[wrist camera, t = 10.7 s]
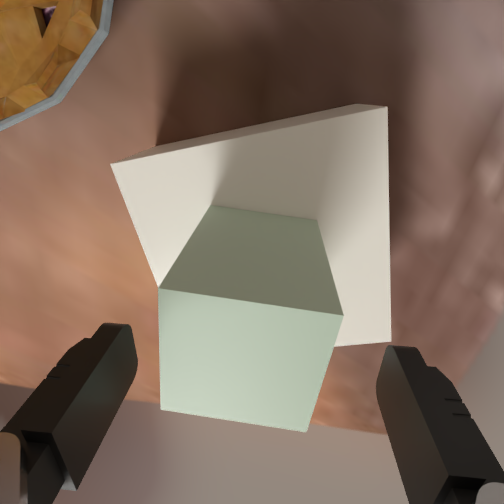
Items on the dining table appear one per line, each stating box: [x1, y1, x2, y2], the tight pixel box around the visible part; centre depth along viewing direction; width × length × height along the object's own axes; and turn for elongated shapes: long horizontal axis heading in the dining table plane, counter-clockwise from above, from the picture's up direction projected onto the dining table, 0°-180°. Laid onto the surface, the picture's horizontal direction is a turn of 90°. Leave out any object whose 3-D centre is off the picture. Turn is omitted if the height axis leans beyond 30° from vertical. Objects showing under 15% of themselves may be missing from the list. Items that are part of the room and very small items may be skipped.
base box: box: [110, 104, 391, 347], centre depth 18 cm, size 12×12×6 cm
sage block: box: [158, 205, 344, 432], centre depth 13 cm, size 5×5×7 cm
